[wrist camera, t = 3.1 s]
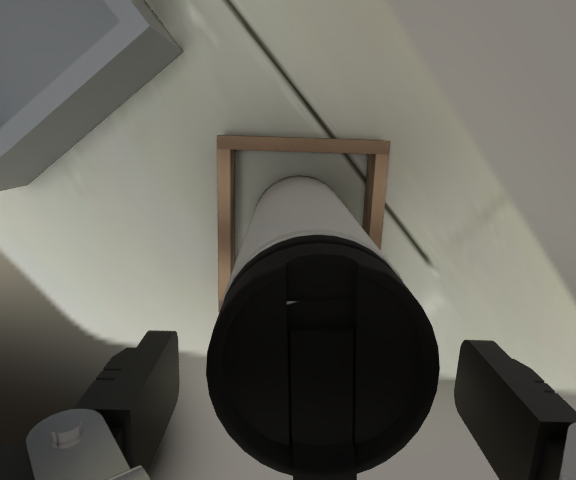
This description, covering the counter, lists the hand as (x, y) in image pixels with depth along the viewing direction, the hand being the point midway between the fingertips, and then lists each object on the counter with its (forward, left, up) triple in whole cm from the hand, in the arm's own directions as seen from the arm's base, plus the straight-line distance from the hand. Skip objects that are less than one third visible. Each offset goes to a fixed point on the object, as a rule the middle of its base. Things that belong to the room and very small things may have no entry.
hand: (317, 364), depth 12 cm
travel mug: (0, 0, -19) cm, 19 cm away
